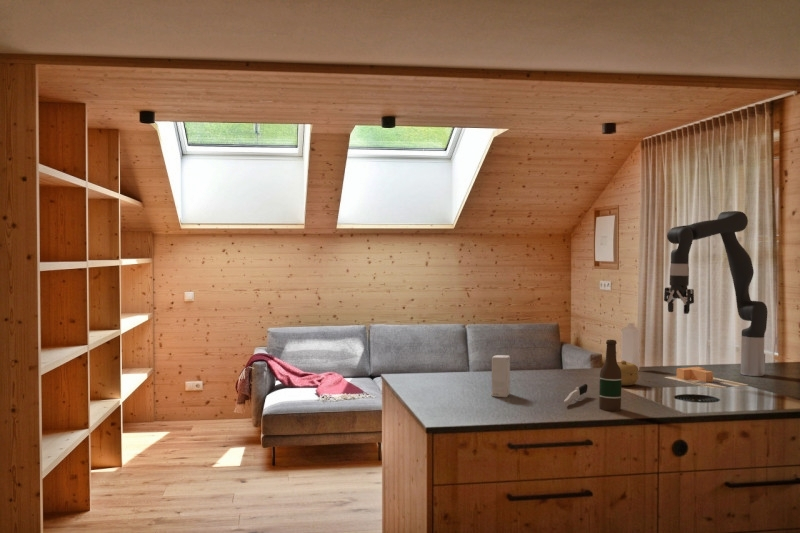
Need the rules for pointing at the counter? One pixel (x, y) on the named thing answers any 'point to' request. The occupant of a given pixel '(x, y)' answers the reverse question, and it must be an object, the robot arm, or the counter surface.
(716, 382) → the push board
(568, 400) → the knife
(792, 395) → the counter surface
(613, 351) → the beer bottle
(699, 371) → the t block
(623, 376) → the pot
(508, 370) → the skincare box
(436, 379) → the counter surface
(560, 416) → the counter surface
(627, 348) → the milk
